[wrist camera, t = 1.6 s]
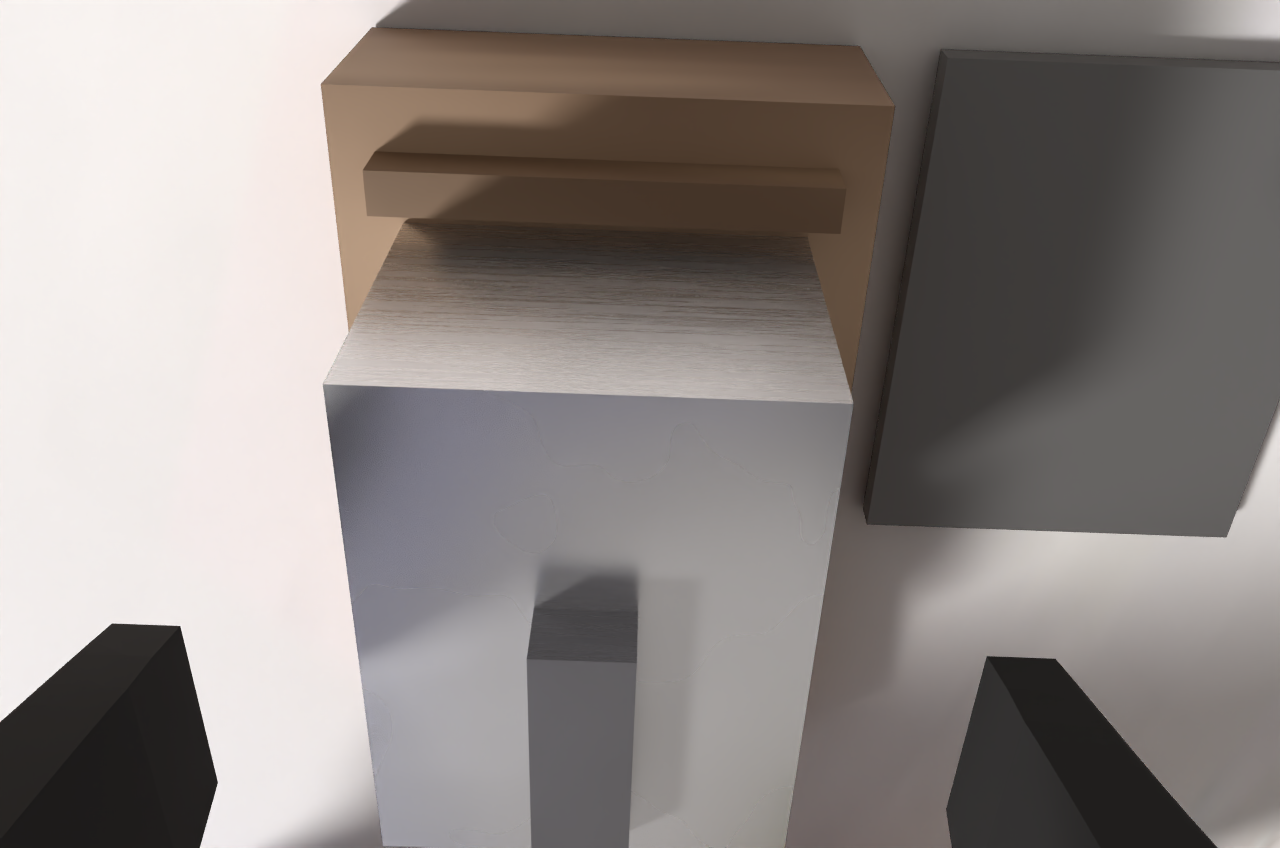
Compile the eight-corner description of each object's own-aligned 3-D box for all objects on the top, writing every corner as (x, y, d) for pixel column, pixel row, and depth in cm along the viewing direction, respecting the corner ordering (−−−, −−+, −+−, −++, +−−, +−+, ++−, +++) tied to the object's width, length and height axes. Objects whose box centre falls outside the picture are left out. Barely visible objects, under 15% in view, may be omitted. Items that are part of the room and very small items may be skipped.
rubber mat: (1215, 521, 18) (1225, 537, 18) (862, 508, 18) (866, 524, 17) (1385, 66, 14) (1403, 75, 14) (941, 49, 14) (948, 57, 14)
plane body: (768, 732, 20) (804, 1079, 15) (432, 720, 20) (354, 1064, 15) (859, 46, 14) (975, 241, 9) (372, 27, 14) (204, 212, 9)
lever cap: (759, 639, 16) (788, 915, 12) (436, 627, 16) (369, 900, 12) (807, 237, 13) (865, 447, 9) (403, 222, 13) (301, 429, 9)
